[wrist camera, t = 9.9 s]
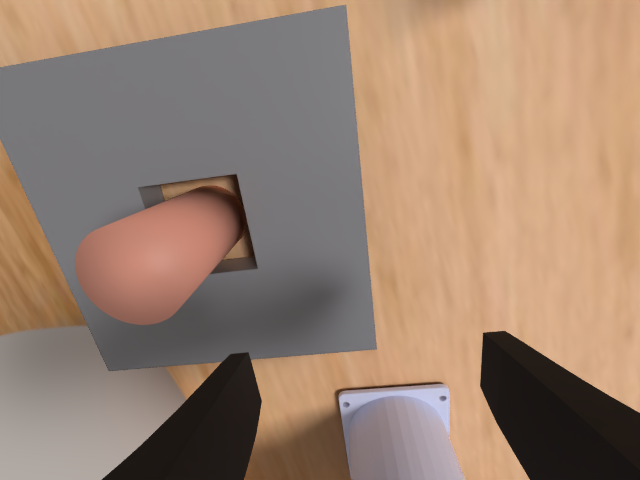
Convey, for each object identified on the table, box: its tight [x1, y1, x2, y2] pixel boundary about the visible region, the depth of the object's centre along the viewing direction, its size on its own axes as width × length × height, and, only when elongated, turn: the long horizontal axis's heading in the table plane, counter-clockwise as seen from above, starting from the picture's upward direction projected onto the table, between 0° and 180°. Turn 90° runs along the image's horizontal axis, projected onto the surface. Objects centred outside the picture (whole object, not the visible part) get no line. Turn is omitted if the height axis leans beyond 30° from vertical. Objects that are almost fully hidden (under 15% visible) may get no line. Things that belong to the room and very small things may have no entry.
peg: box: [75, 186, 247, 325], centre depth 15 cm, size 4×4×8 cm
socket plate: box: [0, 5, 377, 371], centre depth 17 cm, size 18×18×2 cm
